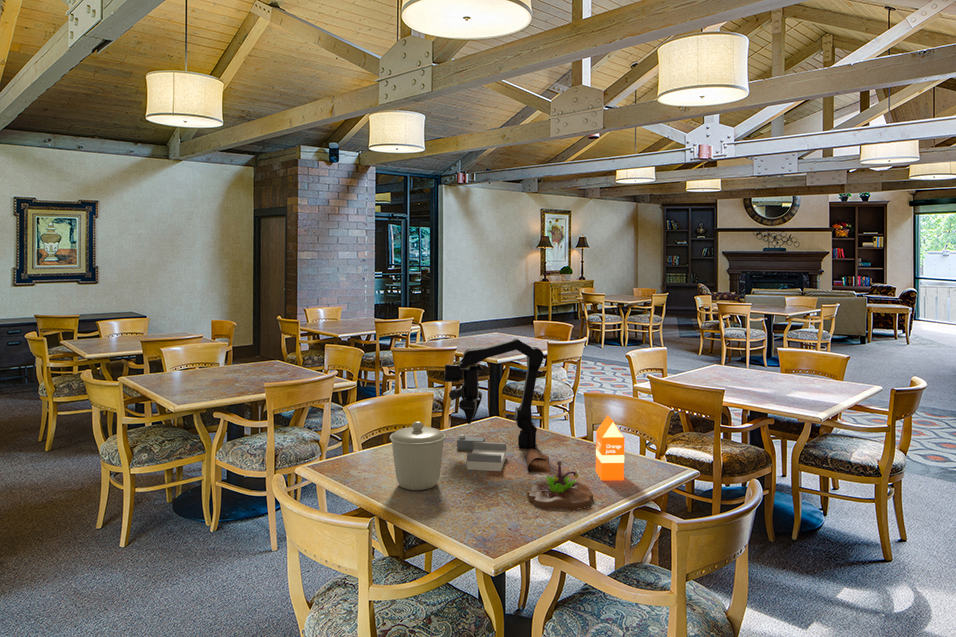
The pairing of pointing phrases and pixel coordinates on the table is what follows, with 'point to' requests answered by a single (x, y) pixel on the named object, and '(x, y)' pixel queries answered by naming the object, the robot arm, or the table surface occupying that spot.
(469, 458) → the stand
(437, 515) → the table surface
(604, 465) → the orange juice
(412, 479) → the canister
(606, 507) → the table surface
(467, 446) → the grey knobbed block
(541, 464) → the sunglasses case
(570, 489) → the plant
